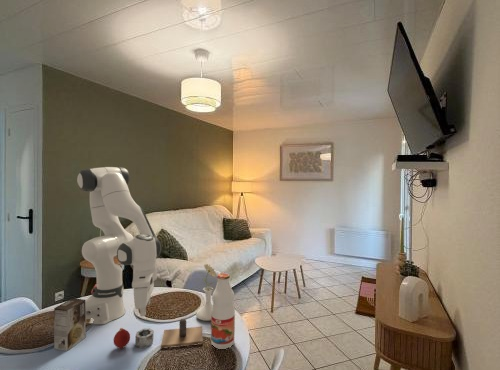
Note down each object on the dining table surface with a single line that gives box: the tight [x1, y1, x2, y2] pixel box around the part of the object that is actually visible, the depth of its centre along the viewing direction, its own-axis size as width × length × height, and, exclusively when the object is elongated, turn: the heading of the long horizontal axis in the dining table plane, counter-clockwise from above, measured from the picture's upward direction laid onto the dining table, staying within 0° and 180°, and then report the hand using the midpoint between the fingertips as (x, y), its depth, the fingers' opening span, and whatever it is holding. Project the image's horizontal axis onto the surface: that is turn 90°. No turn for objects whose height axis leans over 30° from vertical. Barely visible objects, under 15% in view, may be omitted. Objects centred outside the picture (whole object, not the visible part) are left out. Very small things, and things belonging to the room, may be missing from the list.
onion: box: [113, 327, 131, 349], centre depth 104 cm, size 6×6×8 cm
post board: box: [160, 318, 204, 349], centre depth 110 cm, size 16×11×9 cm
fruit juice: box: [210, 272, 236, 350], centre depth 108 cm, size 9×9×28 cm
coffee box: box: [53, 297, 87, 352], centre depth 106 cm, size 9×6×16 cm
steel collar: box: [134, 327, 154, 349], centre depth 107 cm, size 6×6×4 cm
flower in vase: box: [195, 263, 217, 322], centre depth 129 cm, size 13×11×25 cm
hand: (145, 309), depth 107 cm, fingers open, 8 cm apart
